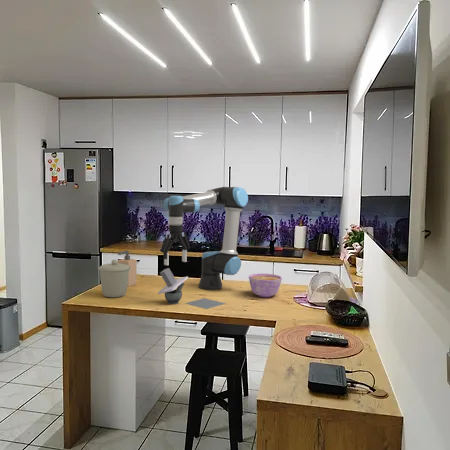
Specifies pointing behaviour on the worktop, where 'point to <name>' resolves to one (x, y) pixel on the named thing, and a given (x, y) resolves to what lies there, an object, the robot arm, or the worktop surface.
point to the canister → (114, 279)
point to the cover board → (167, 289)
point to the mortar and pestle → (174, 295)
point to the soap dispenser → (132, 264)
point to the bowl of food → (265, 284)
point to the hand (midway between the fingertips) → (175, 263)
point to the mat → (205, 303)
